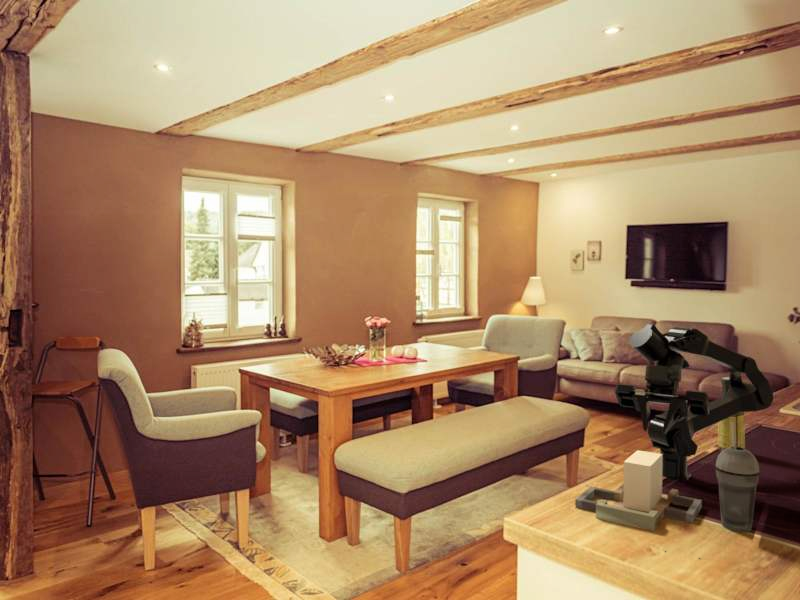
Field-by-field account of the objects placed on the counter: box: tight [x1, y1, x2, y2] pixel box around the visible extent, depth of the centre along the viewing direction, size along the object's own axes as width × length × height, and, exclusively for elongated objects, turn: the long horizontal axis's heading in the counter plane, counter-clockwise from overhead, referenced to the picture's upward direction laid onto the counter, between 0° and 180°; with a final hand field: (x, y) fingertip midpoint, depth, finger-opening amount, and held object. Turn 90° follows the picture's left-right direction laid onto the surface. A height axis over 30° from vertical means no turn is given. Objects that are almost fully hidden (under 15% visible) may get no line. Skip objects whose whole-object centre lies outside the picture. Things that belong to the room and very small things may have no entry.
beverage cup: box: [714, 422, 761, 533], centre depth 110 cm, size 7×7×20 cm
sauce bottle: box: [717, 376, 746, 453], centre depth 160 cm, size 7×6×20 cm
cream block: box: [623, 449, 663, 512], centre depth 123 cm, size 10×5×9 cm, turn 144°
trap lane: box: [574, 482, 703, 532], centre depth 120 cm, size 21×20×4 cm
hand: (654, 431), depth 129 cm, fingers open, 4 cm apart
